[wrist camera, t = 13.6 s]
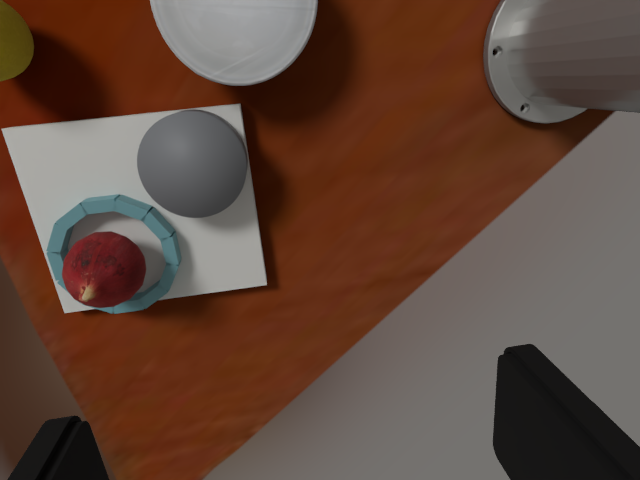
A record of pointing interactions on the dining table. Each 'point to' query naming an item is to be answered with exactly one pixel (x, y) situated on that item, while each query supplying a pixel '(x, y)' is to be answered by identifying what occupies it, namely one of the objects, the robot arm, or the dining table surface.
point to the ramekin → (236, 36)
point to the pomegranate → (103, 269)
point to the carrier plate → (147, 197)
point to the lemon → (14, 43)
